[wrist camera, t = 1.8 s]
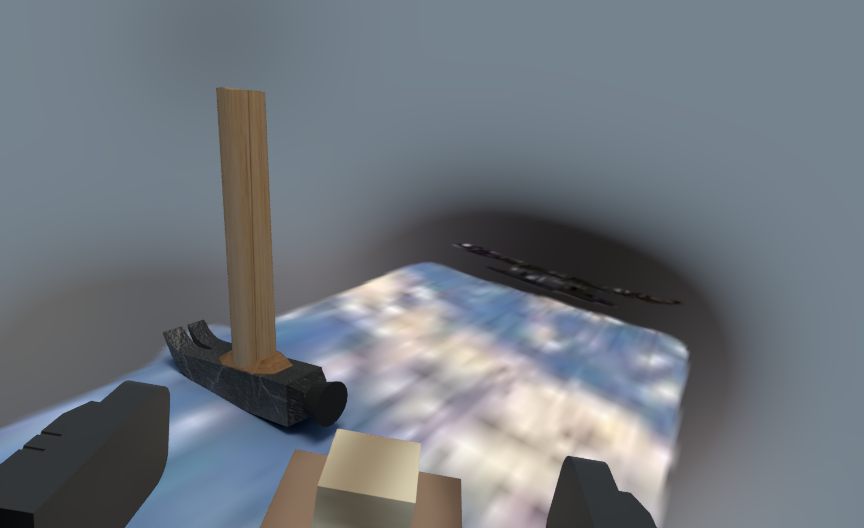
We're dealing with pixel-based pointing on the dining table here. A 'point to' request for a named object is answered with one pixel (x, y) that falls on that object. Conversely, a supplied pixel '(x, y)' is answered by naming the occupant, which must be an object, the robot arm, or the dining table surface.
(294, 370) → the hammer
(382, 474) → the maple key
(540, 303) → the dining table surface
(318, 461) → the walnut toolbox
